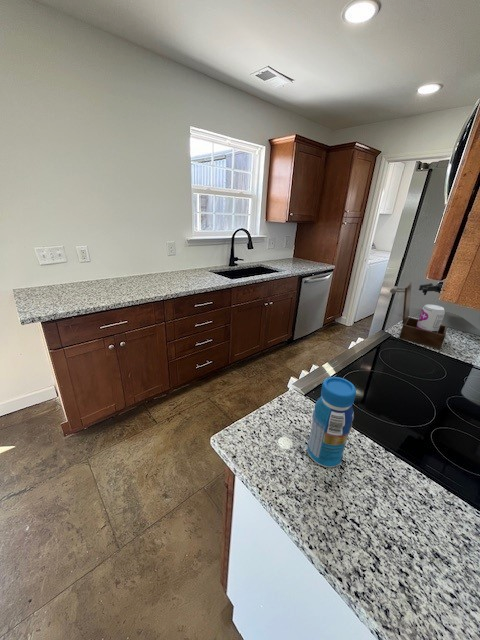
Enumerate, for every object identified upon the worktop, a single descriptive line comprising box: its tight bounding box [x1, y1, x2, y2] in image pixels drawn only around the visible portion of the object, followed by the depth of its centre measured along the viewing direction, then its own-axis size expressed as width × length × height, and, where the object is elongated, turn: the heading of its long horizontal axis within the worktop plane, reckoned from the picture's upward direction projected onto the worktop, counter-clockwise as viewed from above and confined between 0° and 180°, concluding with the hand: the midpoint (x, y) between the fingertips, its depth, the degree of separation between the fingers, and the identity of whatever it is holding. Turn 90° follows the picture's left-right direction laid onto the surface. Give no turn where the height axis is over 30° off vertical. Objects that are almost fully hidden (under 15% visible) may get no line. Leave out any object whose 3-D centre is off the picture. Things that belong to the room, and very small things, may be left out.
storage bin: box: [398, 316, 448, 351], centre depth 119 cm, size 16×13×7 cm
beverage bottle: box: [306, 376, 357, 468], centre depth 59 cm, size 8×8×20 cm
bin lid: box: [389, 281, 413, 325], centre depth 121 cm, size 16×13×7 cm
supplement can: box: [416, 303, 446, 333], centre depth 117 cm, size 8×8×15 cm
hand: (443, 295), depth 119 cm, fingers open, 13 cm apart
